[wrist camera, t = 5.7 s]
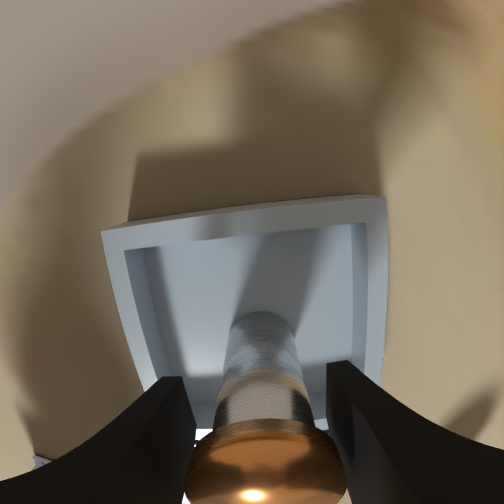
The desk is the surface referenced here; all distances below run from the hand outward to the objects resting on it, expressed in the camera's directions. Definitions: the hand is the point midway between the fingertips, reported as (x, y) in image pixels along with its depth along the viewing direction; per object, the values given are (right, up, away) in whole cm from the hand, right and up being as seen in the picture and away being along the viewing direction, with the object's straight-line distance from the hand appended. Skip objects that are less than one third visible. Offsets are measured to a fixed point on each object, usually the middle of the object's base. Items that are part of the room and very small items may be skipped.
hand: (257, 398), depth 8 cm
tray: (0, +1, +5) cm, 5 cm away
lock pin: (0, 0, +5) cm, 5 cm away
